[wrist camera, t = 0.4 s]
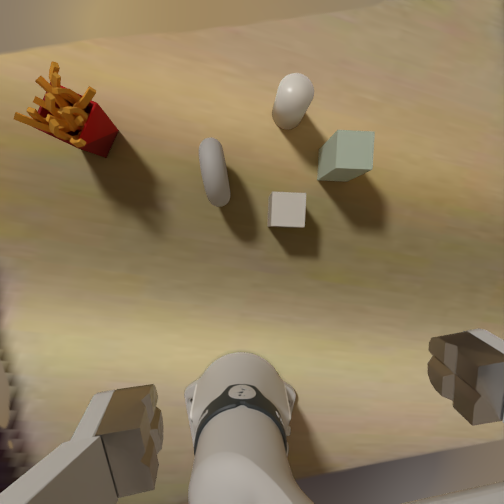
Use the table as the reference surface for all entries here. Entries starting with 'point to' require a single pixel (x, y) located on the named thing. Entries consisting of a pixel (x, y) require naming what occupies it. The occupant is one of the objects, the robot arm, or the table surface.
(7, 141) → the table surface
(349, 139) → the sage block
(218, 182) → the donut
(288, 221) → the grey cube
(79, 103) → the french fries
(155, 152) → the table surface
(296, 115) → the white canister
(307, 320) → the table surface
